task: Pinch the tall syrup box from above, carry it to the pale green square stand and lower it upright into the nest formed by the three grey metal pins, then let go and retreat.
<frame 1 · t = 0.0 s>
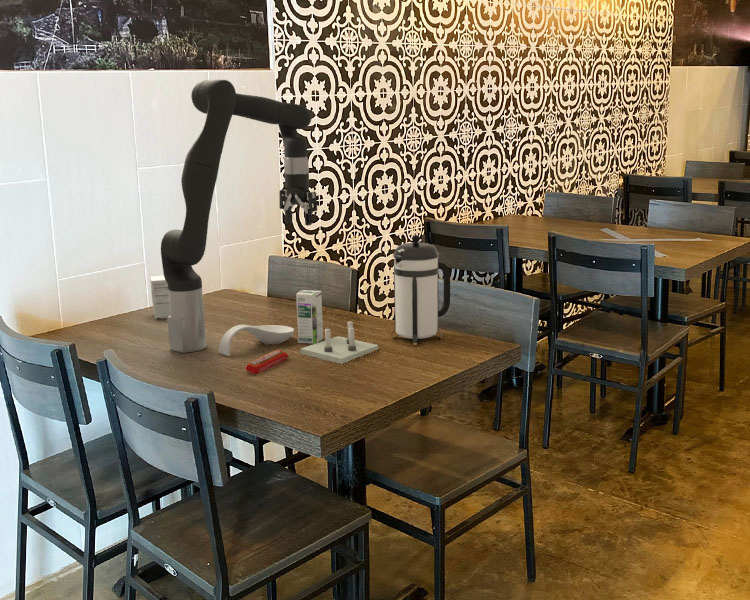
hand: (298, 224, 258), 29 cm above the table, tool pointing down, fingers open, 8 cm apart
syrup box: (310, 341, 236), on the table
mini drawer cabinet: (165, 316, 268), on the table
pale green square stand: (339, 352, 225), on the table
coffee press: (419, 338, 237), on the table
spoon rest: (258, 347, 233), on the table
candy bar: (267, 367, 215), on the table
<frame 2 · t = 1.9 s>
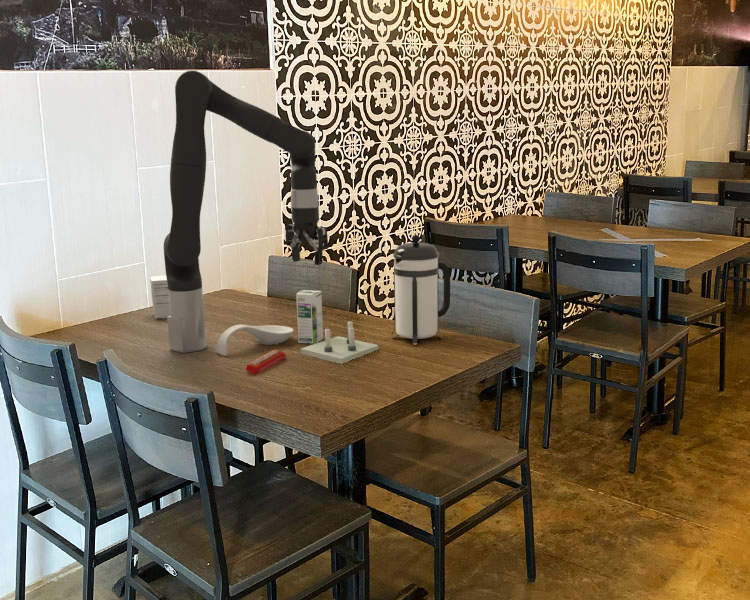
hand: (307, 263, 231), 23 cm above the table, tool pointing down, fingers open, 8 cm apart
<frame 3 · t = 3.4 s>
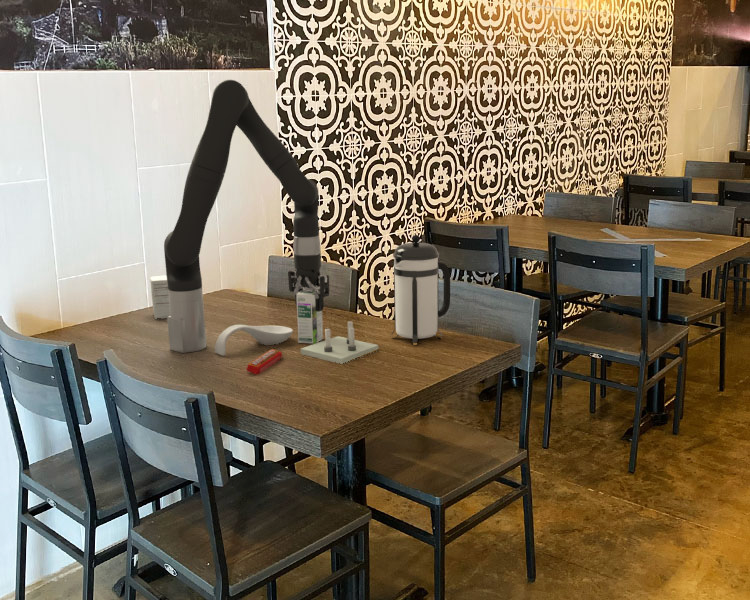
hand: (309, 308, 234), 9 cm above the table, tool pointing down, fingers closed on syrup box, 7 cm apart
syrup box: (310, 341, 236), on the table, touching gripper
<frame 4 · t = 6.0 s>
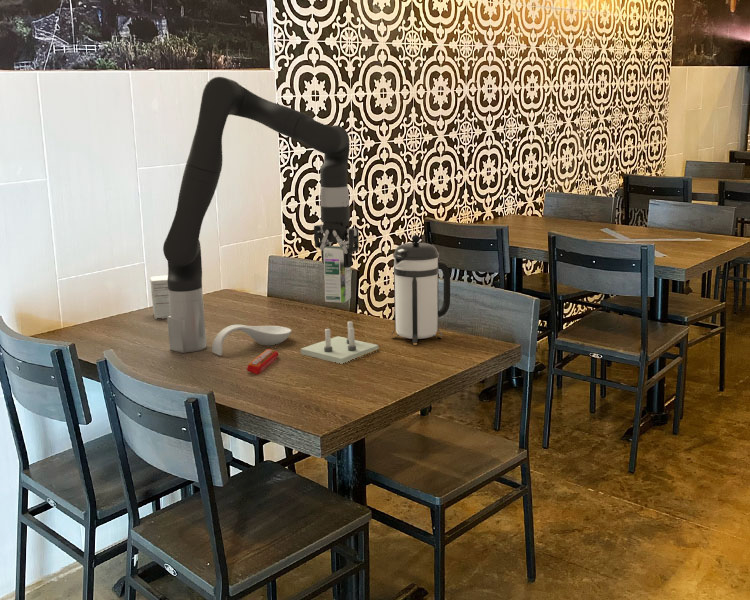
hand: (337, 265, 220), 24 cm above the table, tool pointing down, fingers closed on syrup box, 7 cm apart
syrup box: (338, 300, 222), point 14 cm above the table, touching gripper
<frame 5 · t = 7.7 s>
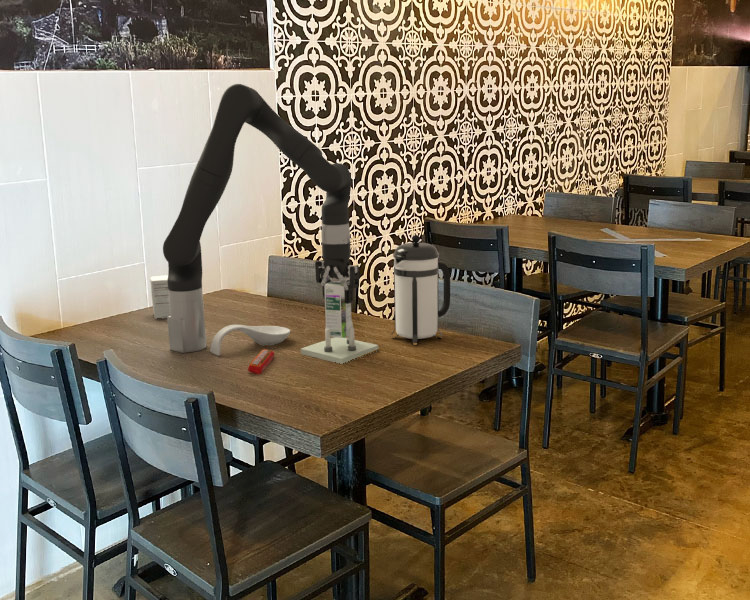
hand: (337, 301, 222), 14 cm above the table, tool pointing down, fingers closed on syrup box, 7 cm apart
syrup box: (338, 335, 224), point 5 cm above the table, touching gripper
when the fingers open (12 cm above the table, at t = 8.9 s): syrup box stays where it is, resting on pale green square stand.
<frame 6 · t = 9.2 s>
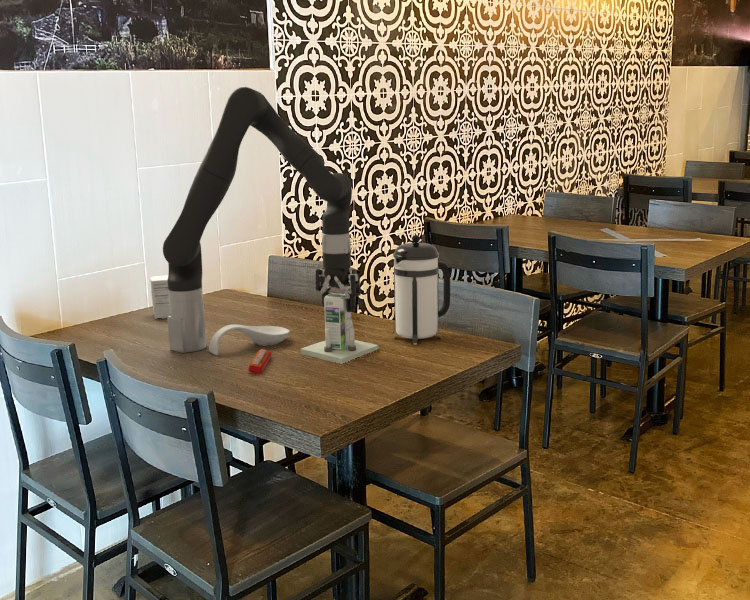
hand: (338, 309, 222), 12 cm above the table, tool pointing down, fingers open, 8 cm apart
syrup box: (338, 347, 225), point 1 cm above the table, touching pale green square stand
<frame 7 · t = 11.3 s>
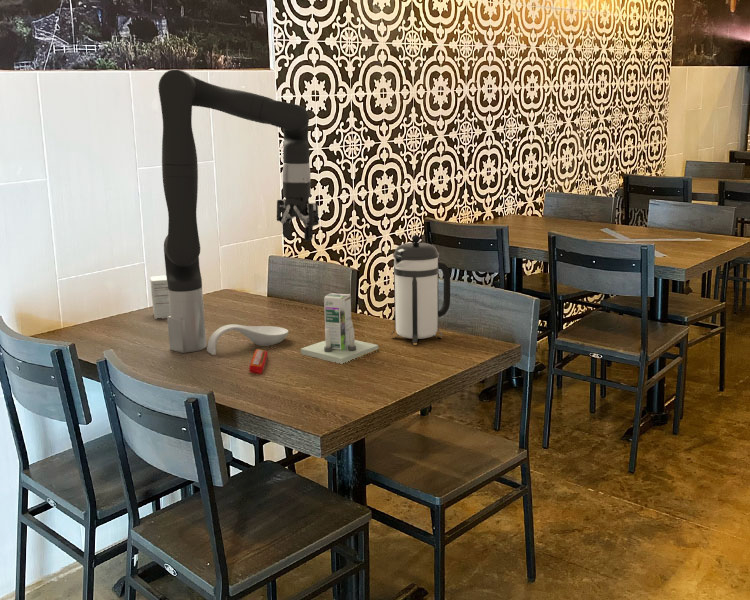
hand: (297, 239, 228), 30 cm above the table, tool pointing down, fingers open, 8 cm apart
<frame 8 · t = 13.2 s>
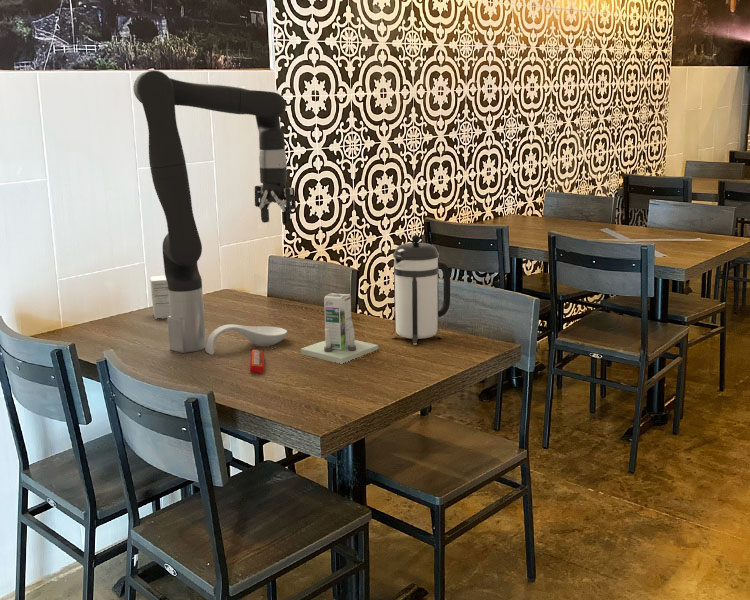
hand: (275, 223, 234), 33 cm above the table, tool pointing down, fingers open, 8 cm apart
at the end: syrup box 0.2 cm from the pale green square stand (horizontally); syrup box tilted 0°; the gripper is holding nothing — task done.
